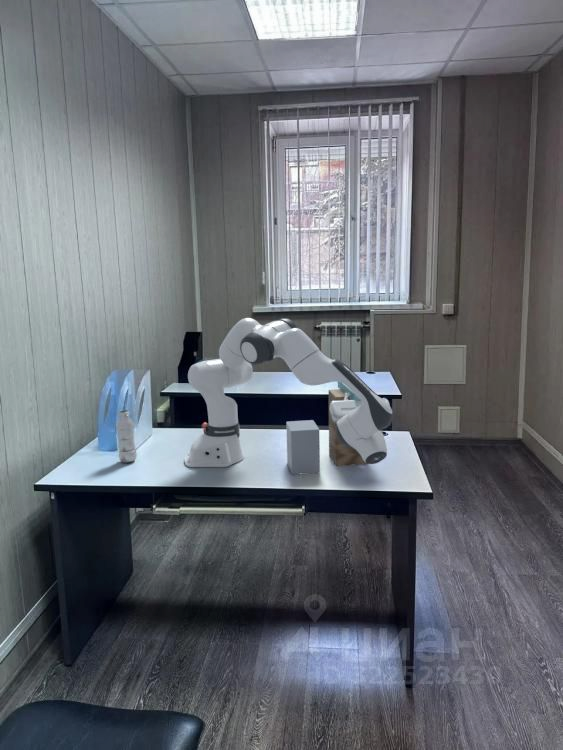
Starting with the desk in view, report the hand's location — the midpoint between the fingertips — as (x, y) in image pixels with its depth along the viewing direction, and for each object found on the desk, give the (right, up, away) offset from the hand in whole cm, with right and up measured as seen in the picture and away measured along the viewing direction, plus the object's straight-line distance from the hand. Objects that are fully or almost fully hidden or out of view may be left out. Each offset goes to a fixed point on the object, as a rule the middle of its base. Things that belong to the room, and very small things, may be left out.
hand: (355, 393), depth 190 cm
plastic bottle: (-85, -27, +19) cm, 91 cm away
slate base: (-18, -27, +8) cm, 34 cm away
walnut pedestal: (-1, -25, +15) cm, 30 cm away
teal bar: (-1, -1, +7) cm, 7 cm away
